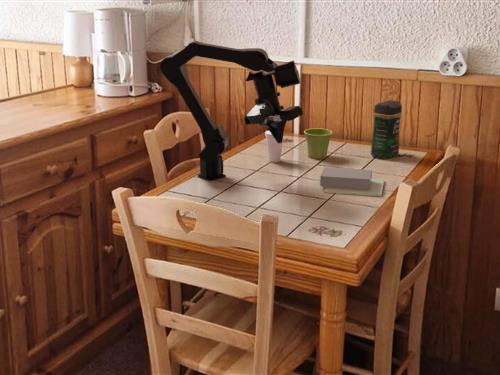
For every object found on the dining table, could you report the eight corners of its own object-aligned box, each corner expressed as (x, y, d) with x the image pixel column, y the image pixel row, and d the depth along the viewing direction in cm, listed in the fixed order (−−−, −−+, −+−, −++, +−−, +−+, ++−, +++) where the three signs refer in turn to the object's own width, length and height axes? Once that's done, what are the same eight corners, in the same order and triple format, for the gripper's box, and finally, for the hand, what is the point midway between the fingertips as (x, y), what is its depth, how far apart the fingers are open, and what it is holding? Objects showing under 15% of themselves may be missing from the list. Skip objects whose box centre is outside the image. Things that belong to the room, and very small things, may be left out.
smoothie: (276, 164, 219) (277, 122, 215) (260, 161, 223) (260, 119, 218) (288, 160, 224) (288, 118, 220) (272, 157, 228) (272, 116, 223)
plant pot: (336, 155, 229) (337, 130, 227) (324, 162, 222) (325, 136, 219) (311, 151, 234) (311, 127, 231) (298, 158, 226) (299, 133, 223)
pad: (324, 192, 193) (324, 190, 193) (330, 177, 206) (330, 175, 206) (381, 196, 190) (381, 194, 189) (384, 181, 202) (384, 179, 202)
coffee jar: (388, 161, 223) (392, 105, 217) (367, 156, 227) (370, 102, 221) (402, 154, 230) (406, 100, 224) (381, 150, 235) (384, 97, 229)
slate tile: (320, 176, 195) (369, 179, 191) (324, 167, 203) (372, 170, 200) (320, 187, 196) (369, 190, 192) (324, 177, 204) (371, 181, 201)
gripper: (225, 103, 198) (240, 153, 202) (272, 97, 185) (287, 151, 189) (250, 92, 206) (263, 140, 210) (297, 85, 193) (310, 137, 197)
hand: (280, 142), depth 201 cm, fingers closed
